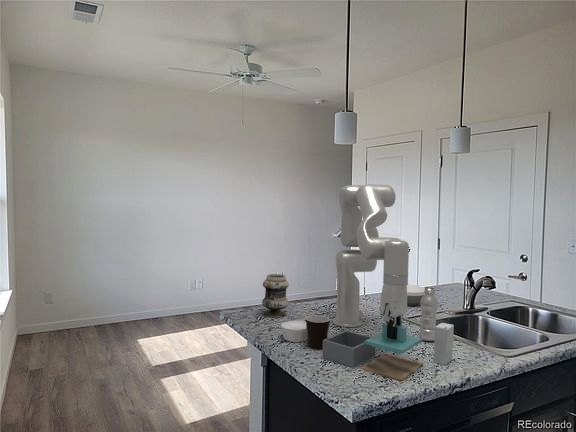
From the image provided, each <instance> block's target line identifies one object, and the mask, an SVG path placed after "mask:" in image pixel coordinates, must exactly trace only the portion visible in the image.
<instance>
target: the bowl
mask: <svg viewBox="0 0 576 432" xmlns="http://www.w3.org/2000/svg"><path fill="white" fill-rule="evenodd" d="M424 291H425V286H421V285H420V286H419V285H415V284H408V285H407V307H414V305H415V306H417V305H418V304H420V301H421V298H422V297H423V296H424V295H425V293H424Z"/></svg>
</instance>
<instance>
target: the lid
mask: <svg viewBox="0 0 576 432" xmlns="http://www.w3.org/2000/svg"><path fill="white" fill-rule="evenodd" d="M396 327H397V339H396V340H394V339H390V338H387V325H386V322H384V323H382V327H381V329H382V331H381V332H380V333H378V334H376V335H374V336H371V337H372V338H370V339H367V340H365V344H368V345H371V346H372V347H376V348H377V349H379V350H384V351H387V352H391V353H394V354H398V355H400V354H401V355H402V354H405V353H406V352H408V351H409V350H411V349H412V348H414V347H416V346H418V345H419V344H421V343H423V340H422V339H421V338H420V337H418V336H417V337H416V336H412V335H408V334H407V326H404V325H402V326H399V325H396ZM376 348H375V349H376Z"/></svg>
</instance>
